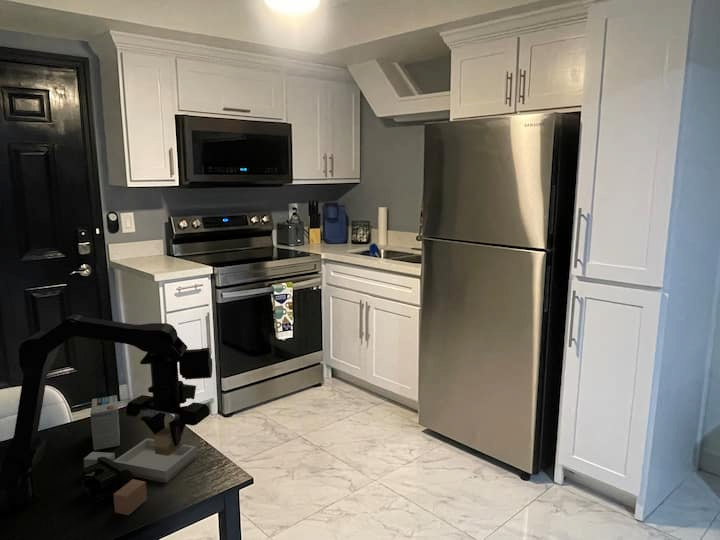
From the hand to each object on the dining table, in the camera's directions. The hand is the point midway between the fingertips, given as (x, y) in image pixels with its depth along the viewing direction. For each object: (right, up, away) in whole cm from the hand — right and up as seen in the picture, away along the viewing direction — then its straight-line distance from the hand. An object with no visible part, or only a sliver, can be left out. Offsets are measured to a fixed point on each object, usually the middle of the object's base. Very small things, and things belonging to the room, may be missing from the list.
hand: (169, 444), depth 121 cm
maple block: (0, -1, 0) cm, 1 cm away
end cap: (-15, -12, +1) cm, 19 cm away
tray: (-8, -9, +13) cm, 18 cm away
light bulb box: (-27, -8, +26) cm, 38 cm away
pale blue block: (-21, -10, +9) cm, 25 cm away
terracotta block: (-7, -12, -4) cm, 15 cm away
